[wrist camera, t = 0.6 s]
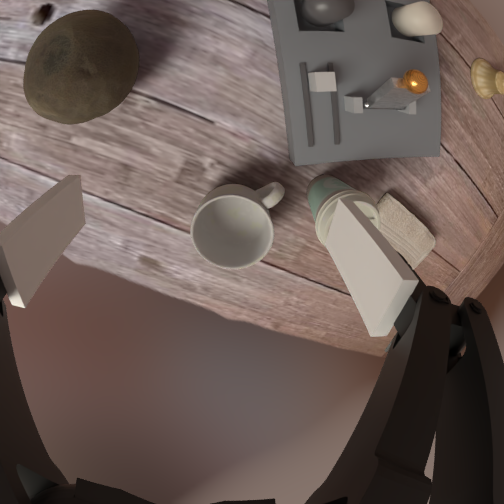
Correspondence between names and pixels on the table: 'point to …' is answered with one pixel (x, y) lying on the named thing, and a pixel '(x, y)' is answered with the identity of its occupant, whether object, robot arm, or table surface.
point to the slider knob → (322, 81)
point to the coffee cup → (326, 198)
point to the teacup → (235, 224)
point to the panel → (354, 85)
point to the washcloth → (404, 231)
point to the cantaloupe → (80, 67)
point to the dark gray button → (326, 11)
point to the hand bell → (486, 79)
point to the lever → (399, 92)
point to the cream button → (417, 19)
